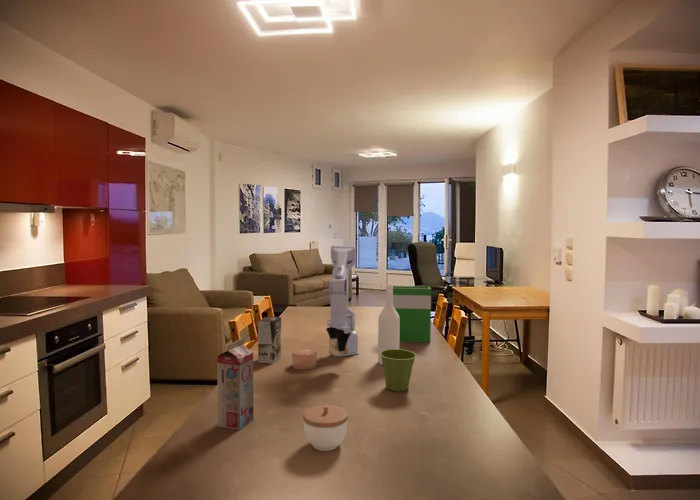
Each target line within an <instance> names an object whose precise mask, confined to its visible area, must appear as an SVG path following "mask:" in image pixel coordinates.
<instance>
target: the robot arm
mask: <svg viewBox="0 0 700 500" xmlns="http://www.w3.org/2000/svg"><path fill="white" fill-rule="evenodd" d="M356 253H357V252H356V246H355V244H353V245H336V244H335V245H334V244H332V246H330V259H331V264H332V266H333V268H332V274H331V279H329V282H328V283H329V284H328V292H329V300H330V318H329V319H327V320H326V321H327V322H326V323H327V324H326V325H327V327H326V328H325V330H326V332H327V334H328V336H329V339H330V338H337V341H338V349H339V351H345V348H346V344H347V341H348V354H343V355H337V356H336V357H346V356H352V355H353V356H354V355H358V354H359V346H358V344H359V337H358V333H357V332H356V331H355V329H356V317H355V312H354V310H352V309H351V308H350V307H349V290H350V289H349V288H350V287H349V281H350V280H349V279H350V272H351V271H350V270H351V268H353V267H354V266H355V264H356Z"/></svg>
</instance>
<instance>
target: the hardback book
mask: <svg viewBox="0 0 700 500" xmlns="http://www.w3.org/2000/svg"><path fill="white" fill-rule="evenodd" d="M393 306H394V308H395V310H396V311H397V313H398V315H399V318H400V339H399V342H404V343H405V342H408V343H409V342H410V343H411V342H412V343H413V342H414V343H431V332H432V331H431V328H432V327H431V325H432V324H431V323H432V321H431V319H432V288H431V286H421V285H420V286H417V285H416V286H415V285H414V286H413V285H410V286H407V285H405V286H404V285H393Z"/></svg>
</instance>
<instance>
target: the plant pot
mask: <svg viewBox="0 0 700 500" xmlns="http://www.w3.org/2000/svg"><path fill="white" fill-rule="evenodd" d="M380 356H381V357H382V362H383V365H382V367H383V373H384V380H385V387H386V389H387V390H391V391H393V392H405V391H406V390H409V386H410V381H411V377H412V370H413V367H414V366H413V365H414V363H415V360H416V358H417V356H418V355H417V353H416V352H414V351H411V350H407V349H401V348H399V349H388V350H384V351H381V352H380Z"/></svg>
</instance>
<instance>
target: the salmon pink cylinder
mask: <svg viewBox="0 0 700 500" xmlns="http://www.w3.org/2000/svg"><path fill="white" fill-rule="evenodd" d="M291 355H292V358H291V362H292V363H291V364H292V367H291V368H293V369H295V370H301V371H308V370H313V369H315V368H317V365H318V364H317V362H318V359H317V355H318V352H317V351H316V350H312V349H298V350H294V351H293V352H292V354H291Z"/></svg>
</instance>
